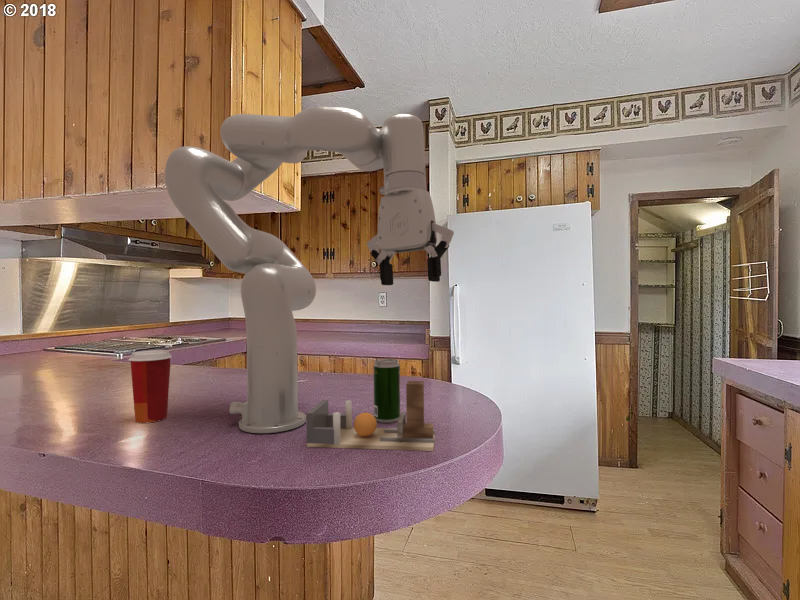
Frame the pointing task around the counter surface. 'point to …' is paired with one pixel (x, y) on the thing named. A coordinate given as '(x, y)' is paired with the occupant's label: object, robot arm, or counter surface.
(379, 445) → the board
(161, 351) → the paper cup
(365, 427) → the ball
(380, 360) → the beer can
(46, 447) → the counter surface
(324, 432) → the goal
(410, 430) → the kicker
